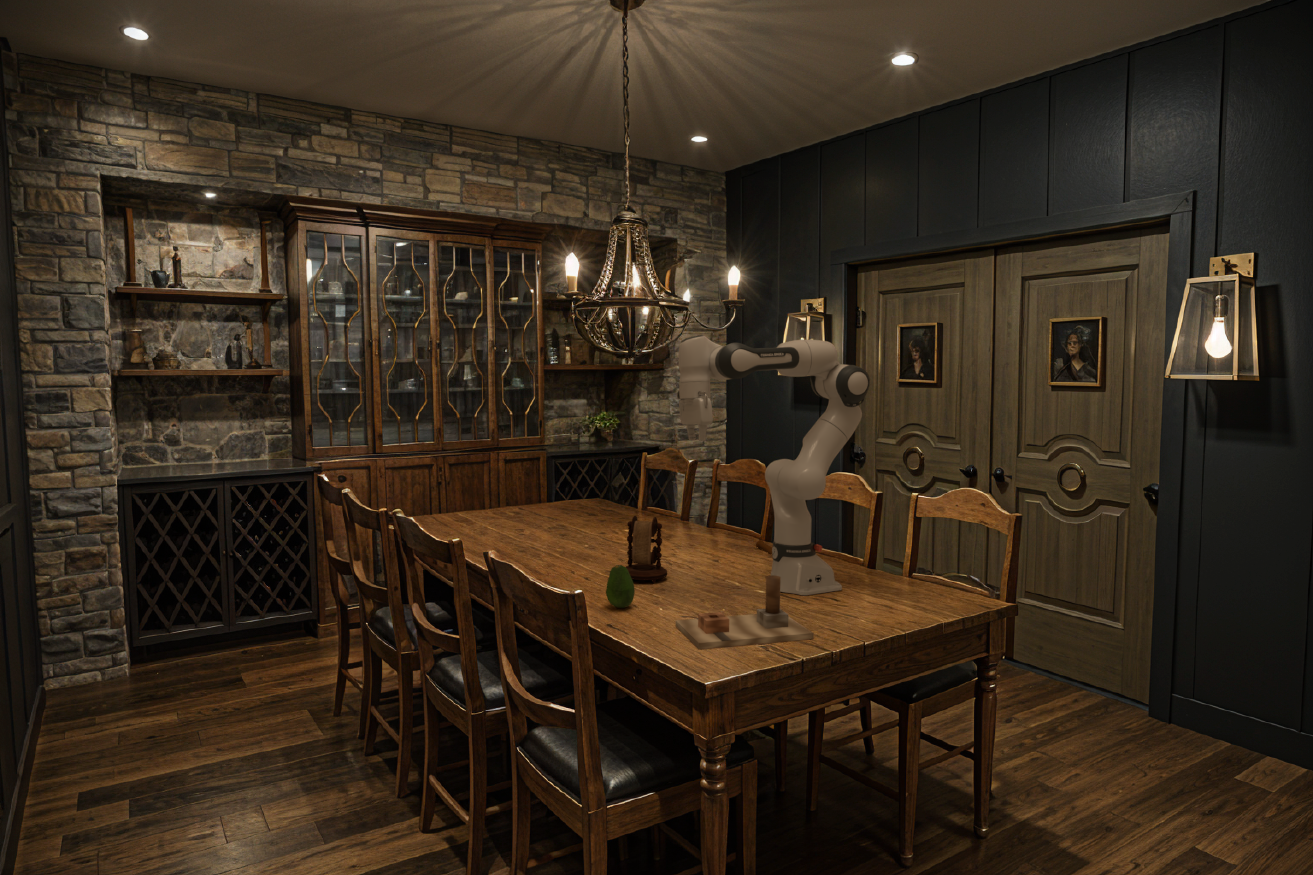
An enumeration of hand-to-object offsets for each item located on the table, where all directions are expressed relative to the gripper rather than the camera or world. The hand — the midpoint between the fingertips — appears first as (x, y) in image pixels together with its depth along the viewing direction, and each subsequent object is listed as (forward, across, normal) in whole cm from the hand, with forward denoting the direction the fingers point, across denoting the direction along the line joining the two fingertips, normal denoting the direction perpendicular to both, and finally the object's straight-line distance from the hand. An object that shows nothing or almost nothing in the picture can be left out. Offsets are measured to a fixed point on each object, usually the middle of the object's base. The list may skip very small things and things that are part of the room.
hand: (697, 440), depth 229 cm
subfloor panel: (+48, -30, -1) cm, 57 cm away
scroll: (+44, +26, +11) cm, 53 cm away
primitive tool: (+46, +52, -44) cm, 82 cm away
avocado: (+45, -3, +25) cm, 52 cm away
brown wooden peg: (+46, -30, -9) cm, 56 cm away
